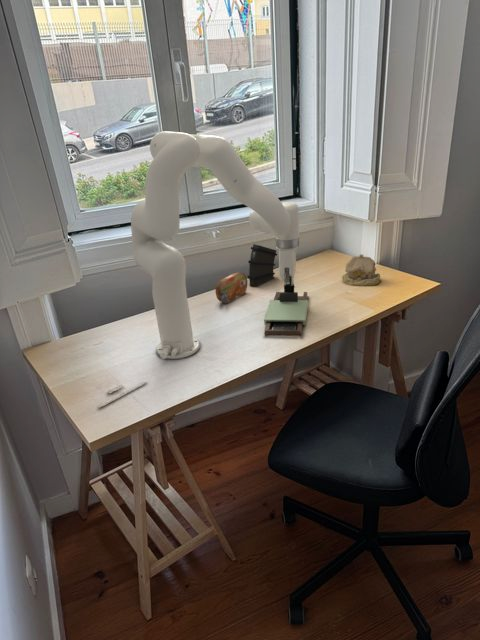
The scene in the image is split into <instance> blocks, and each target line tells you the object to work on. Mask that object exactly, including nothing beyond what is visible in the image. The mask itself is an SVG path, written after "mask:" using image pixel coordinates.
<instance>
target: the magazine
mask: <svg viewBox="0 0 480 640" xmlns="http://www.w3.org/2000/svg"><path fill="white" fill-rule="evenodd" d="M250 250H251V251H250V257H249V260H248V262H247V263H248V264H249V268H248V274H249V275H247V280H248V281H249V285H250V286H253V287H257V286H259V285H262V284H264V283H266V282H268V281H270V280H272V279H274V276H275V275H276V272H274V266H276V263H275V259H276V257H277V256H278V253H277V250H278V249H273V248H270V247H267V246H263V245H259V244H255V243H254V244H252V246H250Z"/></svg>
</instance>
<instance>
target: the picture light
mask: <svg viewBox="0 0 480 640" xmlns="http://www.w3.org/2000/svg"><path fill="white" fill-rule="evenodd" d="M143 385H145V382H140V383H139V384H137V385H135V386H133V387H131V388H129V389H127V390H126V391H124V389H123V388H122V384H120V383H116V384H115V385H114V386H112V387H109V388H108V389H107V390H106V393H108V394H112V393H114V392H117V391H119V394H118V395H116V396H114V397H112V398H111V399H108V400H107V401H105V402H103V403H101V404H100V405H99V406H98V408H103V407H105V406H106V405H108V404H110V403H112V402H114V401H116V400H118V399H120V398H122V397H123V396H125V395H128V394H129V393H131V392H132V391H135V390H137V389H138V388H141V387H142V386H143ZM120 389H121V390H122V392H121V390H120Z"/></svg>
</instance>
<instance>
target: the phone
mask: <svg viewBox="0 0 480 640" xmlns="http://www.w3.org/2000/svg"><path fill="white" fill-rule="evenodd" d="M296 326H297V322H285V321H274V324H273V327H272V330H296Z"/></svg>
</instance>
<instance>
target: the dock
mask: <svg viewBox="0 0 480 640" xmlns="http://www.w3.org/2000/svg"><path fill="white" fill-rule="evenodd" d="M280 292H281V291H275V295H274V298H273V300H280V295H279V293H280ZM298 300H308V292H307V291H303V295H298ZM273 324H274V321H267V324H266V325H265V328H264V336H273V337H274V336H275V337H277V336H280V337H281V336H282V337H283V336H287V337H301V336H302V331H303V326H304V325H303V322H297V326H296V330H272V327H273Z"/></svg>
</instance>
